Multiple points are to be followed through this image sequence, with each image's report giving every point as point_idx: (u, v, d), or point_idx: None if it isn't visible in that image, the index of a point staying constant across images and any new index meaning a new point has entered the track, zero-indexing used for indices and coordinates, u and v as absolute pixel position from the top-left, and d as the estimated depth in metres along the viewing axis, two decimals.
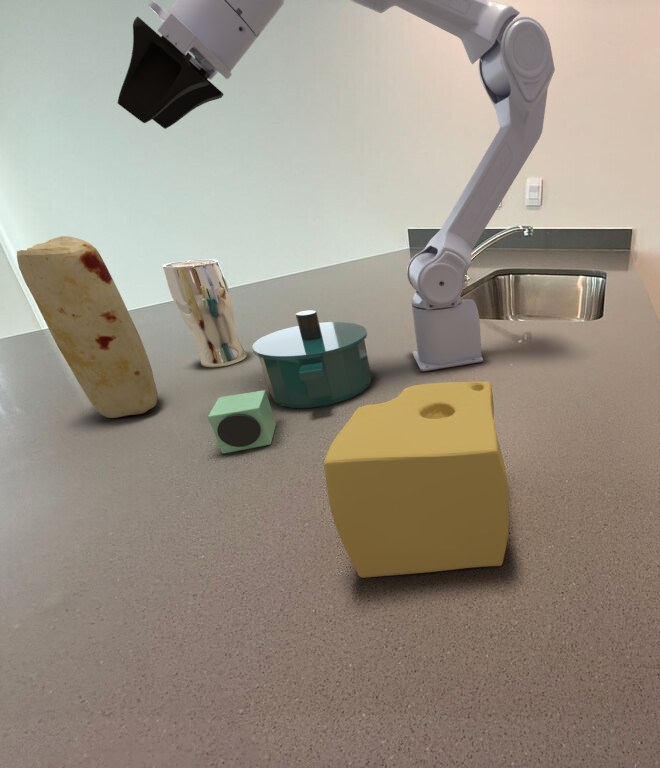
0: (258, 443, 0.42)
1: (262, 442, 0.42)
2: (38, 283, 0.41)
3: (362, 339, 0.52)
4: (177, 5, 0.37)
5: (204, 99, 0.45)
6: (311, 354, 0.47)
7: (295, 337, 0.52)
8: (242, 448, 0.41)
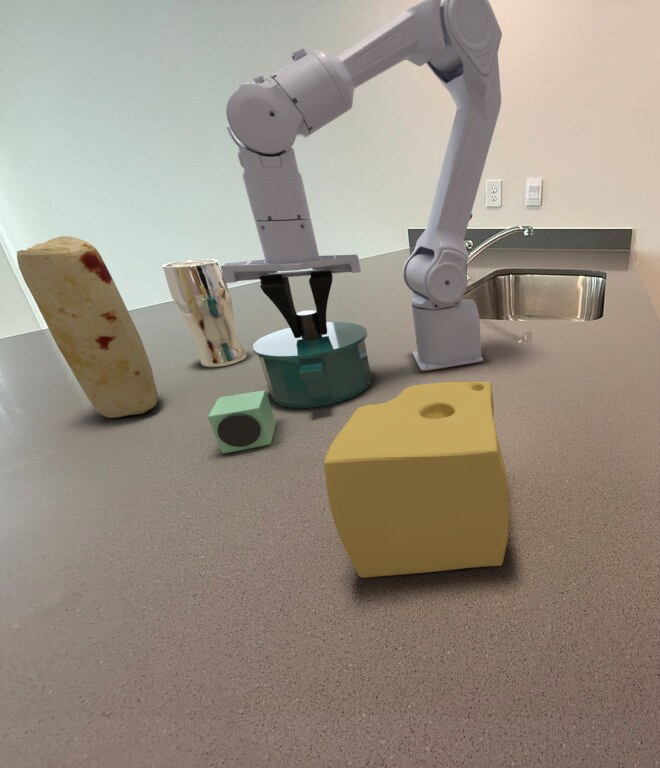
0: (258, 443, 0.42)
1: (262, 442, 0.42)
2: (38, 283, 0.41)
3: (362, 339, 0.52)
4: (305, 250, 0.46)
5: (290, 290, 0.51)
6: (312, 353, 0.47)
7: None
8: (242, 448, 0.41)
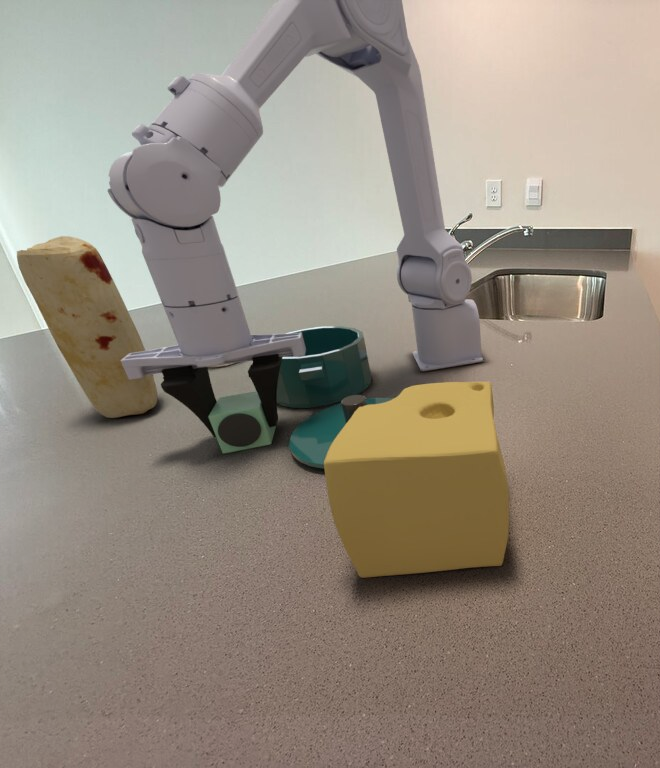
0: (259, 443, 0.42)
1: (262, 442, 0.42)
2: (38, 283, 0.41)
3: None
4: (229, 338, 0.37)
5: (209, 378, 0.42)
6: None
7: (339, 426, 0.43)
8: (242, 448, 0.41)
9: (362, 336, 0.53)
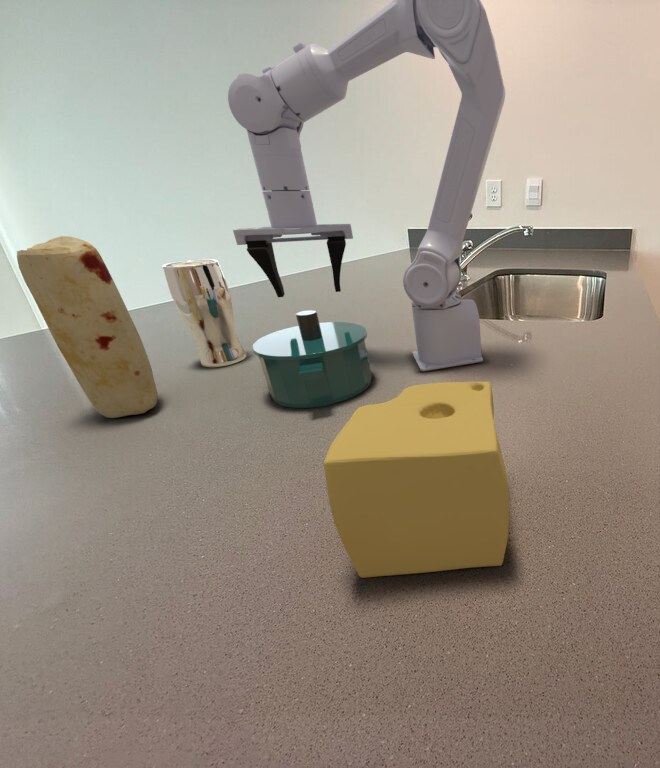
0: None
1: None
2: (38, 283, 0.41)
3: (362, 339, 0.52)
4: (305, 217, 0.54)
5: (274, 256, 0.58)
6: (312, 354, 0.47)
7: (295, 337, 0.52)
8: None
9: None
